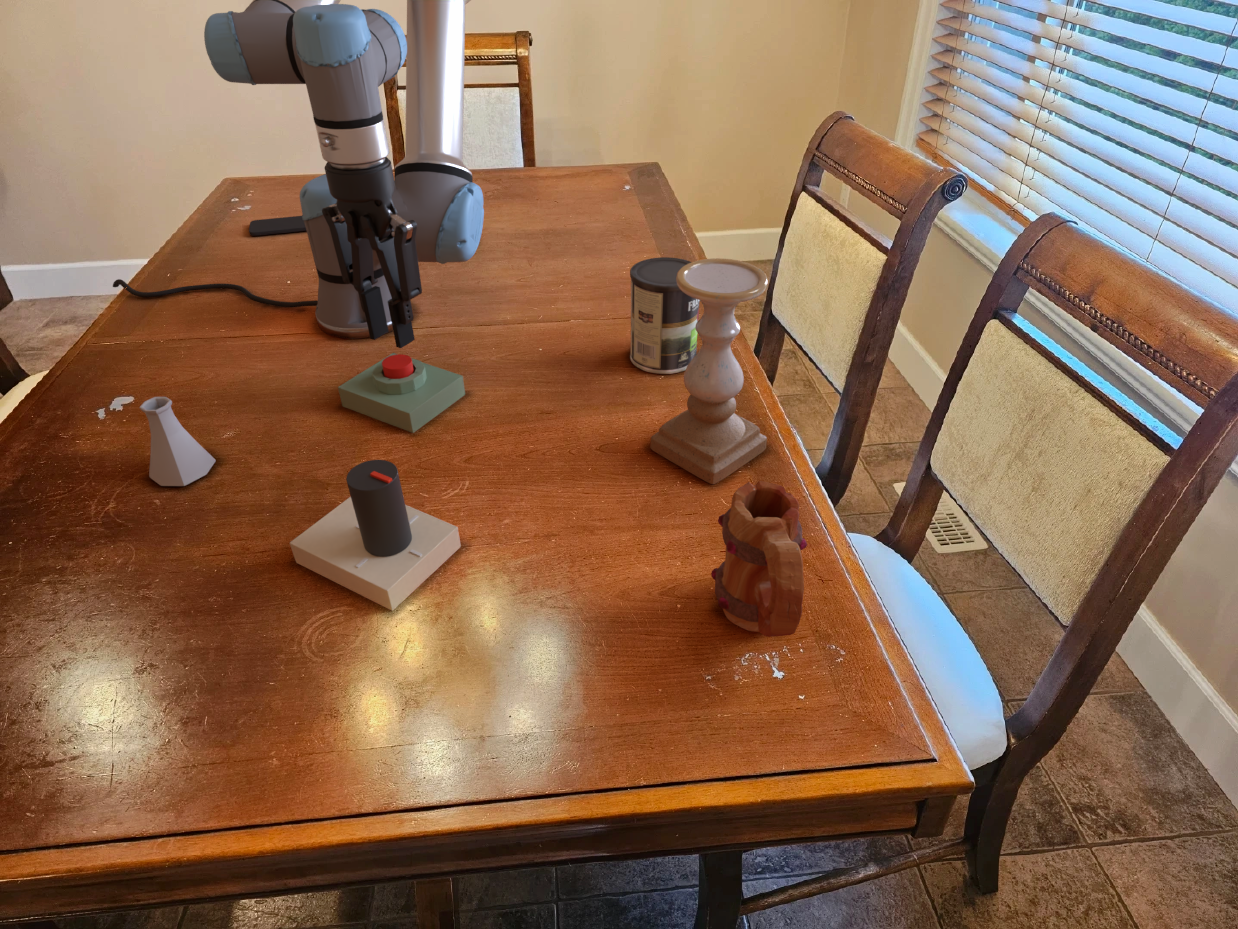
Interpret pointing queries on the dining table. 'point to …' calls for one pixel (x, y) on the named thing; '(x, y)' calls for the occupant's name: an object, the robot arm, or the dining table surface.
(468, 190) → the robot arm
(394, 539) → the knob
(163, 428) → the flask
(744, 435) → the candle holder
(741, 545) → the mug
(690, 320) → the coffee can
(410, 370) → the power button
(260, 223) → the phone
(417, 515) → the dial panel
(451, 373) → the block
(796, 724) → the dining table surface
